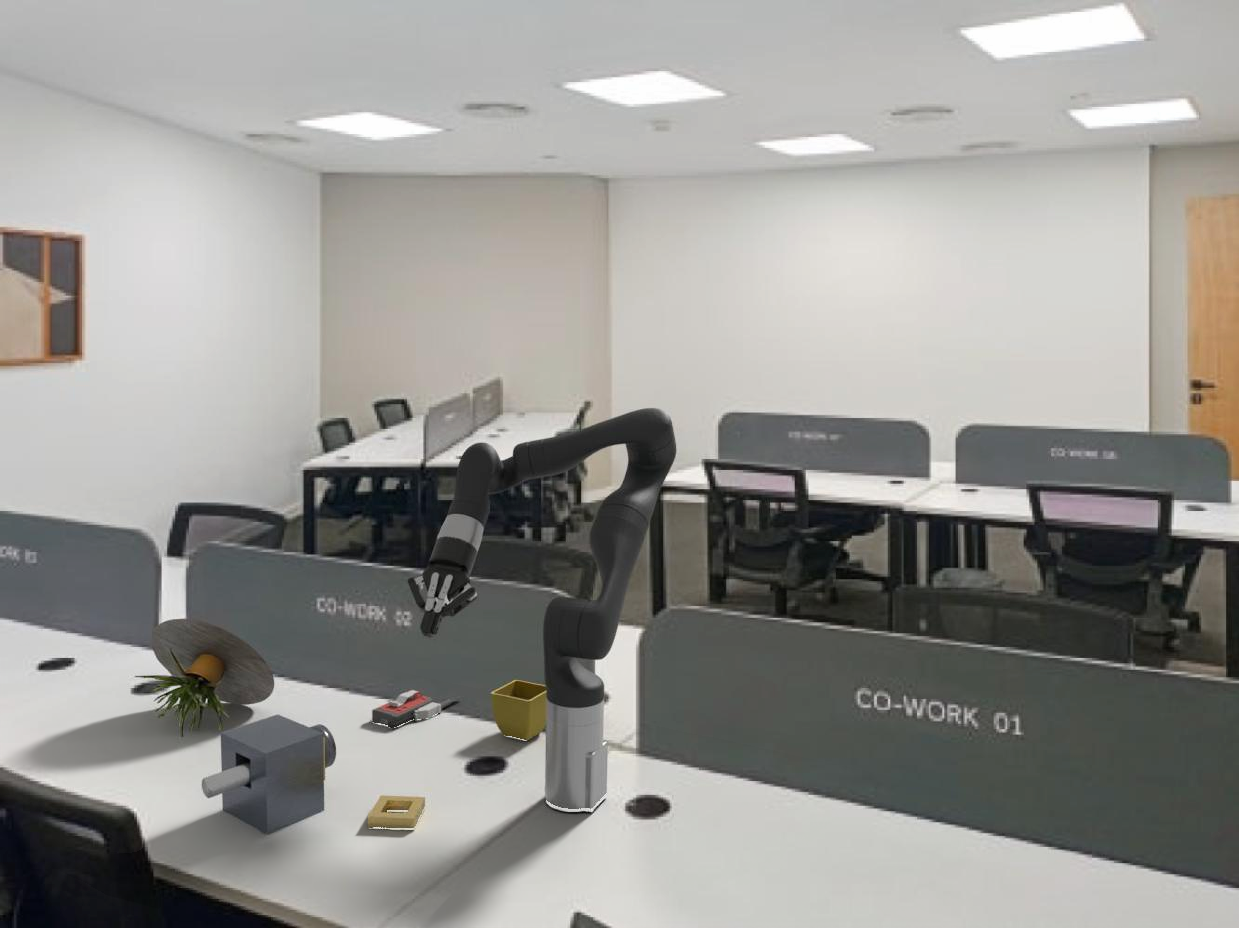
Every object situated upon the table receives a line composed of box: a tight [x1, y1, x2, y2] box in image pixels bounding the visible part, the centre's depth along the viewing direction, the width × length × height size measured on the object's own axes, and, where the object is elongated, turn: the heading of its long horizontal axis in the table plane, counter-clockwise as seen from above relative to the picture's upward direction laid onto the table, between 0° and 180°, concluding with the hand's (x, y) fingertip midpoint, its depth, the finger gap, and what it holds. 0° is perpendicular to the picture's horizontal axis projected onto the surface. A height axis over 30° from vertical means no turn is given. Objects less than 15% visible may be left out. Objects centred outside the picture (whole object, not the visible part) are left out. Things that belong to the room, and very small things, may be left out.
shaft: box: [201, 724, 337, 799], centre depth 151 cm, size 20×7×7 cm, turn 143°
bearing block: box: [220, 714, 325, 835], centre depth 152 cm, size 10×12×12 cm
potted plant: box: [134, 618, 275, 738], centre depth 185 cm, size 25×18×25 cm
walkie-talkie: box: [371, 689, 452, 729], centre depth 194 cm, size 9×4×20 cm
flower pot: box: [490, 679, 547, 740], centre depth 184 cm, size 9×9×9 cm
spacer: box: [367, 795, 426, 828], centre depth 151 cm, size 7×7×2 cm
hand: (426, 634), depth 165 cm, fingers closed
